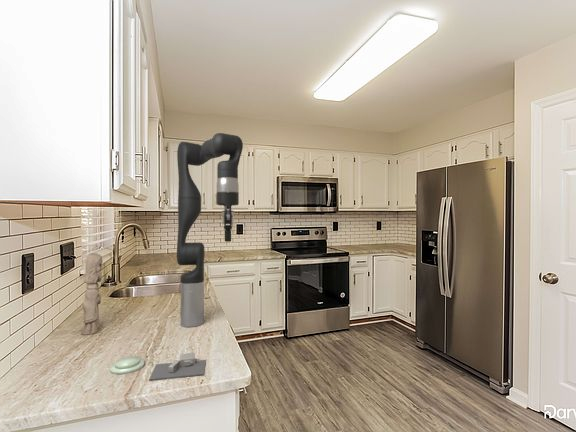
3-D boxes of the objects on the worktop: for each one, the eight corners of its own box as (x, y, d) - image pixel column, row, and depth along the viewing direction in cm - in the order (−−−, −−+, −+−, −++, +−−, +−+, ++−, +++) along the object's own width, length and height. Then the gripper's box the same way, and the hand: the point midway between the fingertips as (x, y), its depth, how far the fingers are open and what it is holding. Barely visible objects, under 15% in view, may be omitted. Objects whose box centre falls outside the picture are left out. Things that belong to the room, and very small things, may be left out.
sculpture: (102, 332, 120) (102, 253, 121) (80, 336, 117) (80, 254, 117) (102, 327, 127) (102, 251, 127) (81, 330, 123) (82, 252, 124)
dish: (115, 361, 96) (115, 355, 96) (147, 358, 97) (147, 352, 97) (104, 375, 87) (104, 369, 87) (140, 372, 89) (140, 366, 89)
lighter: (194, 352, 97) (195, 363, 89) (194, 358, 97) (195, 369, 89) (169, 355, 95) (168, 367, 87) (169, 361, 94) (168, 373, 87)
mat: (156, 365, 93) (156, 364, 93) (205, 361, 96) (205, 359, 96) (149, 380, 84) (149, 379, 84) (203, 375, 87) (203, 373, 87)
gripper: (216, 193, 116) (217, 240, 116) (216, 189, 103) (216, 243, 103) (237, 193, 118) (237, 240, 117) (239, 190, 105) (239, 242, 104)
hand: (227, 241), depth 110 cm, fingers closed
